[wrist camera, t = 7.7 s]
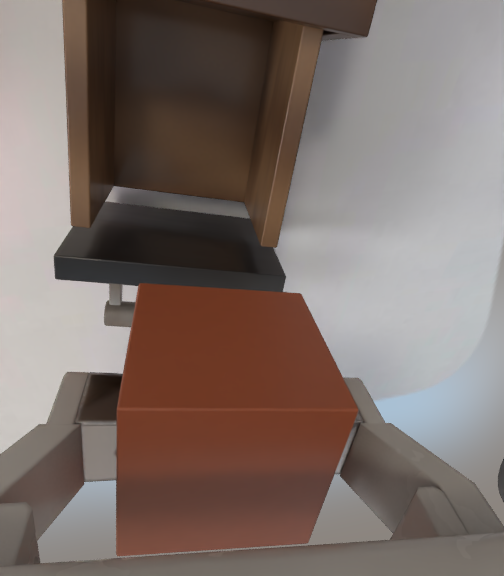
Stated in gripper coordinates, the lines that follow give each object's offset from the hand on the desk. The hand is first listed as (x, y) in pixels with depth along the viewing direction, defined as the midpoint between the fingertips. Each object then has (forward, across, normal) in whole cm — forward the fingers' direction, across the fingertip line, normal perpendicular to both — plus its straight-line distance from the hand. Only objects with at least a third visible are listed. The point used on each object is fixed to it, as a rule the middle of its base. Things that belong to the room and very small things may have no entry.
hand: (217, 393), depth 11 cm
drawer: (+17, +1, -2) cm, 17 cm away
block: (+2, 0, 0) cm, 2 cm away
